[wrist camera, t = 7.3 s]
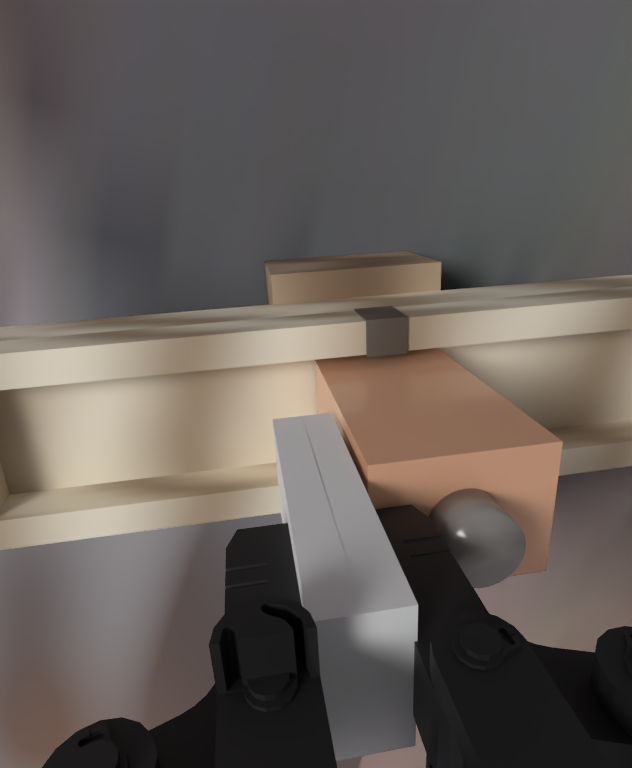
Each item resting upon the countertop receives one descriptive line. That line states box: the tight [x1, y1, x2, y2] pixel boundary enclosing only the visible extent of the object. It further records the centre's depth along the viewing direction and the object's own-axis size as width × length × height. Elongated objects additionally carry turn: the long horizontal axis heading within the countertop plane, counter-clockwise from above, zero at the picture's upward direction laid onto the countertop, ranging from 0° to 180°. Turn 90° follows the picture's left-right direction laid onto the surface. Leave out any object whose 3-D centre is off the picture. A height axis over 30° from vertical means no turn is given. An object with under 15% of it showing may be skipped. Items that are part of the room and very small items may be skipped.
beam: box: [0, 251, 632, 550], centre depth 19 cm, size 26×8×8 cm, turn 93°
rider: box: [314, 348, 563, 588], centre depth 13 cm, size 4×3×8 cm
